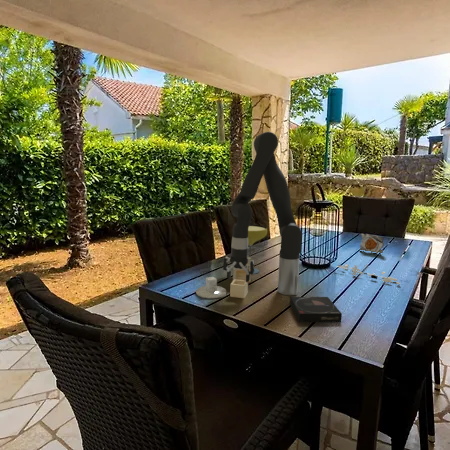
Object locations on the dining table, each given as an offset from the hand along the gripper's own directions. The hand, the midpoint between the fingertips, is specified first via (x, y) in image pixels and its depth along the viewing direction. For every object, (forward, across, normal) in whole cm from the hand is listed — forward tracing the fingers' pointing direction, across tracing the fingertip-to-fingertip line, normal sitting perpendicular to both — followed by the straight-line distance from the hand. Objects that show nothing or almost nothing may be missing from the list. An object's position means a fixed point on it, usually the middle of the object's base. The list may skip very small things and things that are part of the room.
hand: (238, 280), depth 156 cm
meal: (+5, -66, -100) cm, 120 cm away
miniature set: (+6, -60, -50) cm, 78 cm away
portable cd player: (+7, -35, +8) cm, 37 cm away
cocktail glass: (+7, +3, -35) cm, 35 cm away
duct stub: (+7, +12, +3) cm, 14 cm away
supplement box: (+7, +2, -17) cm, 18 cm away
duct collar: (+7, -1, 0) cm, 7 cm away
